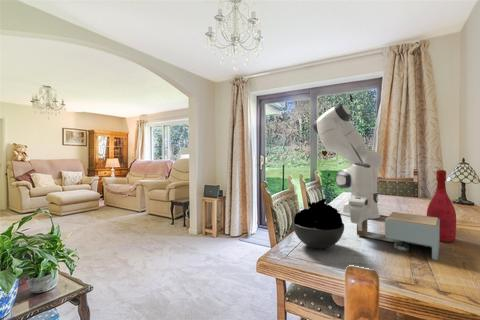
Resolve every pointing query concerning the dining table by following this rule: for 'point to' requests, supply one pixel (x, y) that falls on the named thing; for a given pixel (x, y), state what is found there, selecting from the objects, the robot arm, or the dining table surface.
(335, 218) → the coal bowl
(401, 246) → the steel puck
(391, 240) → the wood-handled metal tool
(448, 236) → the wine bottle
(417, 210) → the dining table surface
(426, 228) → the cabinet
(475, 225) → the dining table surface
